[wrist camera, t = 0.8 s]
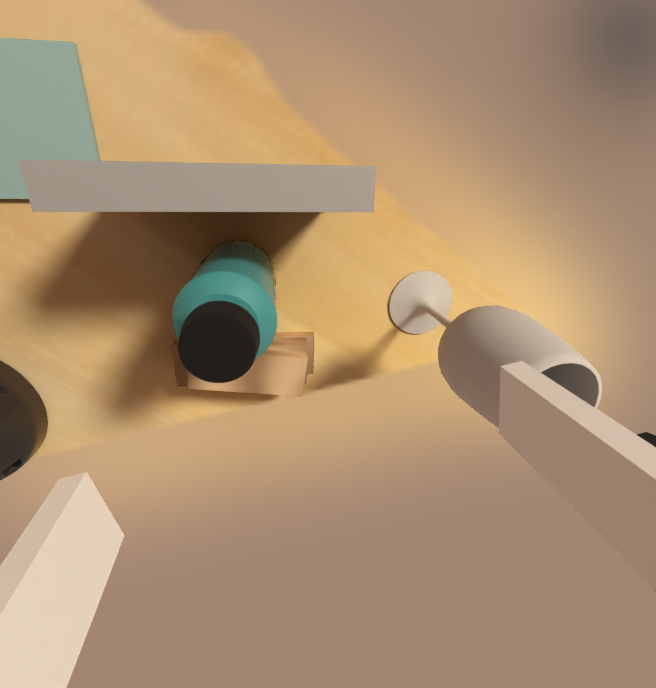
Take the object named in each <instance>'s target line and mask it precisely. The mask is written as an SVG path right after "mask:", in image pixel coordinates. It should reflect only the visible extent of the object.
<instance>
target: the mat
mask: <svg viewBox="0 0 656 688" xmlns="http://www.w3.org/2000/svg"><path fill="white" fill-rule="evenodd" d="M18 159H21V160H73V161H100V157H99V152H98V147H97V142H96V138H95V133H94V128H93V123H92V119H91V114H90V109H89V104H88V99H87V95H86V90H85V85H84V80H83V75H82V71H81V66H80V61H79V56H78V51H77V47H76V44H75V43H73V42H62V41H45V40H29V39H12V38H0V199H29V197H28V194H27V190H26V187H25V183H24V180H23V176H22V173H21V169H20V166H19V162H18Z"/></svg>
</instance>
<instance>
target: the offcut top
mask: <svg viewBox="0 0 656 688" xmlns="http://www.w3.org/2000/svg"><path fill="white" fill-rule="evenodd" d="M307 362H308V357H307V352H306V351H304V350H293V349H282V348H272V347H269V348H268V349H267V350H266V351H265V352H264V353H263V354H262V355H261V356H260V357H258V358H257V359H255V361H254V363H253V365H252V366H251V368H250V369H249V370H248V371H247V372H246V373H245V374H244V375H243V376H242V377H240V378H238V379H236V380H234V381H230V382H226V383H211V382H207V381H204V380H201V379H199V378H197V377H195V376H194V375H192V374H191V373H190V372H189V371H188V389H198V390H213V391H228V392H243V393H258V394H272V395H287V396H302V394H303V388H304V382H305V375H306V369H307Z"/></svg>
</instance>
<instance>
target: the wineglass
mask: <svg viewBox="0 0 656 688" xmlns="http://www.w3.org/2000/svg"><path fill="white" fill-rule="evenodd" d="M451 304H452V292H451V287H450V286H449V284H448V282H447V281H446V280H445V279H444V278H443V277H442V276H441V275H439V274H437V273H435V272H432V271H428V270H427V271H417V272H414V273H411V274H409V275H407V276H406V277H404V278H403V279H402V280H401V281H400V282H399V283H398V284H397V285H396V287H395V288H394V289H393V292H392V294H391V296H390V301H389V312H390V315H391V318H392V320H393V322H394V323H395V325H396V326H398V327H399V328H400V329H401V330H403V331H405V332H407V333H412V334H422V333H425V332H429V331H431V330H433V329H434V328H436V327H437V326H438V325H440V324H443V325H444V326H445V327H446V329H445V331H444V333H443V335H442V337H441V339H440V343H439V347H438V360H439V366H440V369H441V373H442V375H443V376H444V378H445V380H446V381H447V383H448V384H449V386H450V387H451V389H452V390H453V391H454V392H455V393H456V394H457V395H458V396H459V397H460V398H461V399H462V400H463V401H465V402H466V403H467V404H468V405H469V406H470V407H472V408H473V409H474V410H475V411H477V412H478V413H479V414H480V415H482V416H483V417H485V418H486V419H487V420H488V421H490V422H491V423H493V424H494V425H495V426H497V427H498V428H499V408H500V366H503V365H507V364H511V363H515V362H519V361H523V362H525V363H526V364H528V365H530V366H531V367H533V368H534V369H536V370H537V371H539V372H540V373H542V374H543V375H545V376H547V377H548V378H550V379H551V380H553V381H554V382H556V383H557V384H559V385H560V386H562V387H563V388H565V389H567V390H568V391H570V392H571V393H573V394H574V395H576V396H577V397H579V398H580V399H582V400H583V401H585V402H587V403H588V404H590V405H591V406H593V407H594V408H596V409H597V407H598V404H599V402H600V398H601V394H602V381H601V379H600V376H599V373H598V372H597V371H596V370H595V369H594V367H593V366H592V365H591V364H590V363H589V362H588V361H587V360H586V359H585V358H584V357H583V356H581V355H580V354H579V353H578V352H577V351H576V350H575V349H573V348H572V347H571V346H570V345H569V344H567V343H566V342H565V341H564V340H562V339H561V338H560V337H558V336H557V335H556V334H554V333H553V332H552V331H550V330H549V329H548V328H546V327H545V326H543V325H542V324H540V323H539V322H537V321H536V320H534V319H532V318H531V317H529V316H527V315H525V314H523V313H521V312H519V311H517V310H513V309H510V308H506V307H502V306H483V307H477V308H474V309H470V310H468V311H466V312H464V313H462V314H461V315H459V316H458V317H457V318H456V319H454V320H453V321H450V320H449V319H447V318H446V317H447V315H448V313H449V311H450V308H451Z"/></svg>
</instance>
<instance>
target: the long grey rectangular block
mask: <svg viewBox="0 0 656 688" xmlns="http://www.w3.org/2000/svg"><path fill="white" fill-rule="evenodd" d="M18 162H19V166H20V169H21V173H22V176H23V180H24V183H25V187H26V190H27V194H28V197H29V201H30V204H31V208H32V211H33V212H374V195H375V176H376V166H337V165H284V164H231V163H179V162H126V161H73V160H21V159H18Z"/></svg>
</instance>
